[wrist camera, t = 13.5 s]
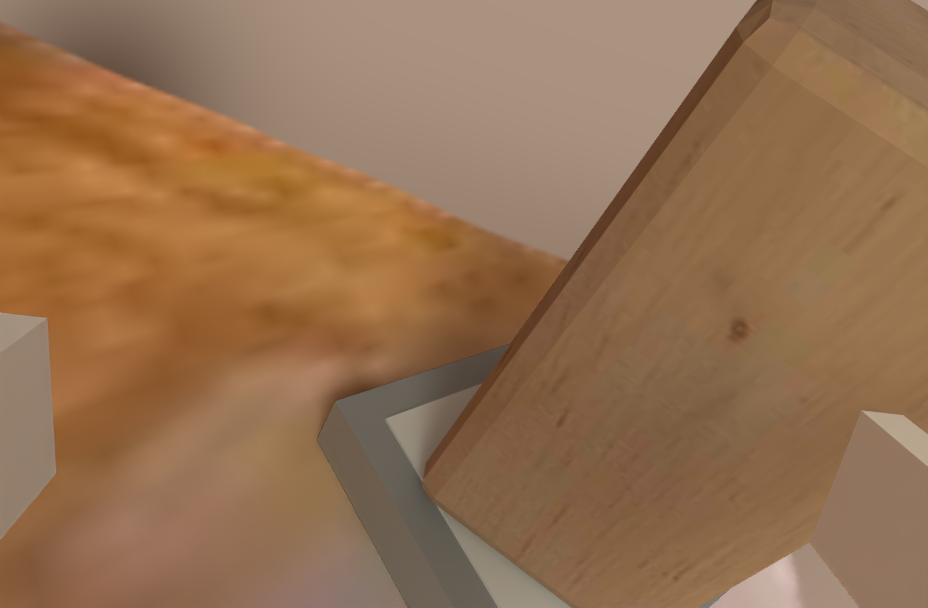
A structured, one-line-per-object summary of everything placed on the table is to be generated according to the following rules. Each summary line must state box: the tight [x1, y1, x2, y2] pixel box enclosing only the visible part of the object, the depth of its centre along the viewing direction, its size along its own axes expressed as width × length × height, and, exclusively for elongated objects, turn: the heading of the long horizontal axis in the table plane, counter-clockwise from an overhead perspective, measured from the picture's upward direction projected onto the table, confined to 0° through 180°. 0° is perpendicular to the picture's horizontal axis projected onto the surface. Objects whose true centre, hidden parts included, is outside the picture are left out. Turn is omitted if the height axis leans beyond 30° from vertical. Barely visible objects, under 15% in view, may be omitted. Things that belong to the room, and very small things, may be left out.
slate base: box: [317, 344, 728, 608], centre depth 30 cm, size 14×14×3 cm
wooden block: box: [422, 0, 928, 608], centre depth 23 cm, size 10×10×20 cm
